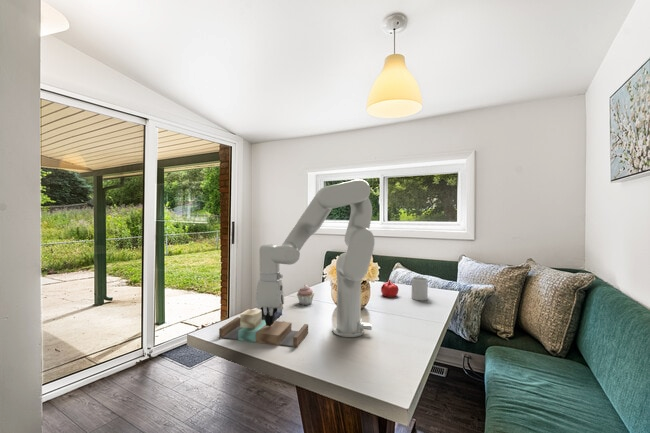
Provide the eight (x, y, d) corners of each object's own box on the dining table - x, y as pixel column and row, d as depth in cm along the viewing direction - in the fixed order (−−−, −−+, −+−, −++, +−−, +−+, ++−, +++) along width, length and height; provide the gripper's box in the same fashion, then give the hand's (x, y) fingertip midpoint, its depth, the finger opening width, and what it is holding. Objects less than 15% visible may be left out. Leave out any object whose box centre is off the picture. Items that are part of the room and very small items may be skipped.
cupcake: (300, 300, 165) (300, 281, 164) (316, 301, 162) (316, 282, 162) (293, 305, 156) (293, 285, 155) (311, 306, 153) (311, 287, 153)
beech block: (261, 323, 121) (261, 310, 121) (254, 328, 115) (254, 315, 115) (247, 321, 122) (247, 309, 122) (240, 327, 116) (240, 314, 116)
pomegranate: (401, 295, 175) (402, 279, 175) (392, 299, 168) (393, 282, 168) (386, 292, 182) (386, 276, 182) (377, 295, 174) (377, 279, 174)
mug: (424, 301, 163) (424, 281, 163) (408, 298, 169) (409, 279, 168) (431, 297, 173) (432, 277, 173) (417, 294, 178) (417, 275, 178)
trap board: (308, 333, 120) (308, 324, 120) (297, 347, 107) (297, 337, 107) (237, 325, 127) (237, 317, 127) (219, 337, 115) (219, 328, 115)
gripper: (291, 276, 118) (291, 323, 119) (256, 274, 122) (256, 319, 122) (284, 280, 111) (284, 330, 111) (246, 278, 115) (247, 326, 115)
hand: (269, 324), depth 117 cm, fingers closed
